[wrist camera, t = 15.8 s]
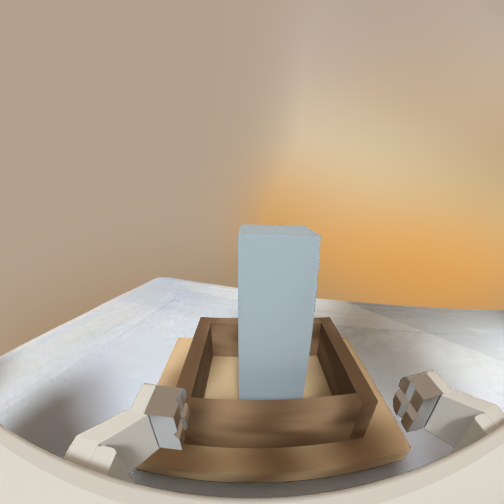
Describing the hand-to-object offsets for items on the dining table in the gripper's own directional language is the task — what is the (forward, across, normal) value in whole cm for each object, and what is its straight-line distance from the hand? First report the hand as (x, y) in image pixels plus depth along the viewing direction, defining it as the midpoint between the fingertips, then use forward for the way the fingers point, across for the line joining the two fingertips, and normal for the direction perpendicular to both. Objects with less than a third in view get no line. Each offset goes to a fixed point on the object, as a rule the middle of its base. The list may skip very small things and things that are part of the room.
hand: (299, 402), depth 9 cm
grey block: (+12, 0, +10) cm, 15 cm away
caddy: (+12, 0, +11) cm, 16 cm away
